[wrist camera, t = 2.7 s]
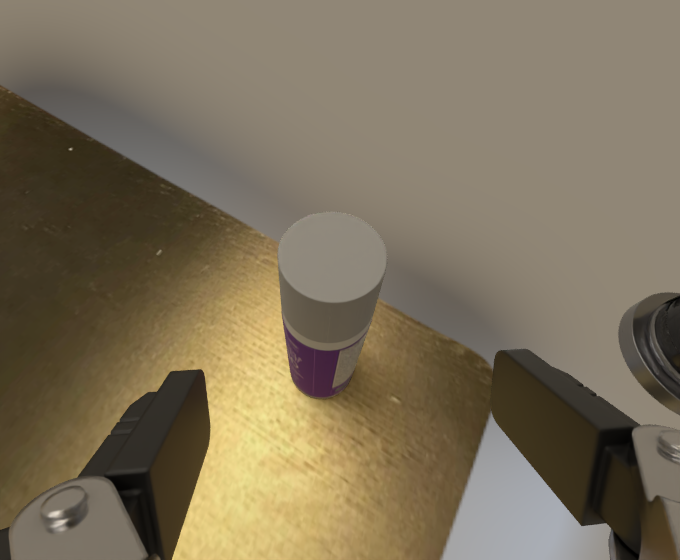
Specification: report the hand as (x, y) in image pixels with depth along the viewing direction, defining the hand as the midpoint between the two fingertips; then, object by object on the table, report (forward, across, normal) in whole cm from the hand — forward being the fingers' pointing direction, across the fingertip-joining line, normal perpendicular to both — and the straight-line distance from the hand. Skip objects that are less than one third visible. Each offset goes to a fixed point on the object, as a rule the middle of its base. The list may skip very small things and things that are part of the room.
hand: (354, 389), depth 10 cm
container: (+16, 0, +8) cm, 18 cm away
